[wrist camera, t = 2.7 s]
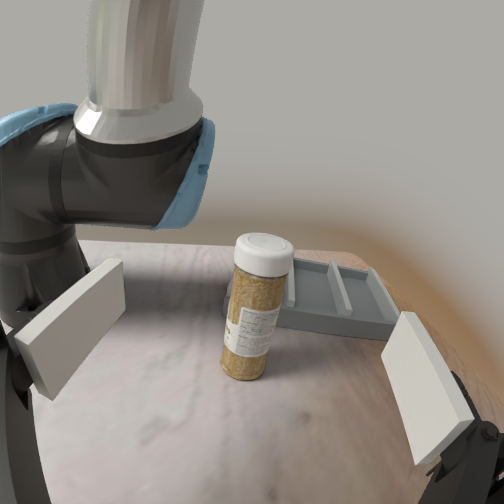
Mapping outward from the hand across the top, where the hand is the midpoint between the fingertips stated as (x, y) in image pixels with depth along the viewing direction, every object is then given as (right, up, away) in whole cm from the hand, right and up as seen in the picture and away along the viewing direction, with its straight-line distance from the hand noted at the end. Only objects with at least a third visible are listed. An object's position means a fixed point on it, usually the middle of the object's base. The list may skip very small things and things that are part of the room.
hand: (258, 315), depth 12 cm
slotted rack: (+8, -4, +29) cm, 31 cm away
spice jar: (-1, -9, +15) cm, 17 cm away
